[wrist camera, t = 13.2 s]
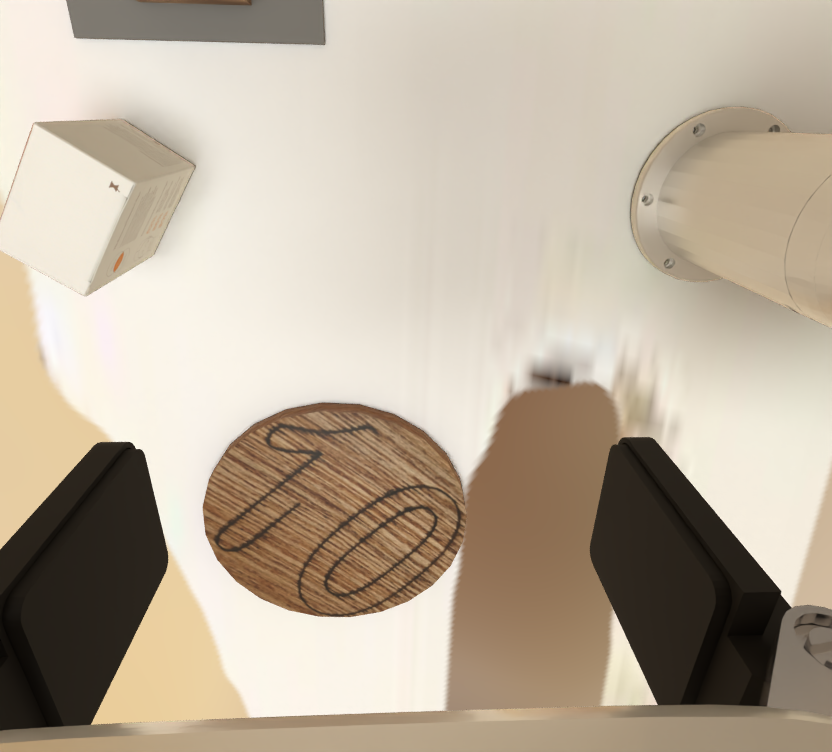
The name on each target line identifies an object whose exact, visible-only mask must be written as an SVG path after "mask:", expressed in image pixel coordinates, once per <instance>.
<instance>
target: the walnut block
mask: <svg viewBox="0 0 832 752" xmlns="http://www.w3.org/2000/svg"><path fill="white" fill-rule="evenodd" d="M136 1H138V2H150V3H183V4H217V5H251V6H252V3H251V0H136Z"/></svg>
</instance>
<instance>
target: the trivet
mask: <svg viewBox="0 0 832 752" xmlns="http://www.w3.org/2000/svg"><path fill="white" fill-rule="evenodd" d="M203 515H204V524H205V533H206V536H207V538H208V541H209V543H210V545H211V547H212V549H213V551H214V554H215V556H216V558H217V560H218V561H219V562H220V563H221V564H222V566H223V567H224V568H225V569H226V570H227V571H228V572H229V574H230V575H231V576H232V577H233V578H234V579H235V581H236V582H238V583H239V584H241V585H242V586H244V587H245V588H246V589H248V590H249V591H251V592H252V593H254V594H255V595H256V596H258V597H259V598H261V599H263V600H266V601H268V602H270V603H273V604H275V605H278V606H280V607H282V608H285V609H287V610H290V611H295V612H300V613H305V614H310V615H315V616H322V617H353V616H359V615H365V614H371V613H377V612H381V611H384V610H387V609H389V608H392V607H394V606H397V605H400V604H402V603H405V602H408V601H409V600H411V599H412V598H414V597H415V596H417V595H418V594H420V593H422V592H423V591H425V590H426V589H428V588H429V587H431V586H432V585H433V584H434V583H435V582H436V581H437V580H438V579H439V578H440V577H441V575H442V574H443V573H444V572H445V571H446V570H447V569H448V568H449V567H450V566H451V564H452V562H453V560H454V558H455V556H456V554H457V552H458V550H459V548H460V546H461V544H462V542H463V537H464V530H465V524H466V517H467V514H466V509H465V503H464V498H463V492H462V487H461V482H460V478H459V476H458V474H457V473H456V471H455V469H454V467H453V465H452V463H451V461H450V460H449V458H448V456H447V454H446V453H445V452H444V451H443V450H442V449H441V448H440V447H439V446H438V445H437V444H436V443H435V442H434V441H433V440H432V439H431V438H430V437H429V436H428V435H427V434H426V433H425V432H424V431H423V430H421V429H419V428H417V427H416V426H414V425H412V424H410V423H409V422H407V421H405V420H403V419H402V418H400V417H398V416H396V415H395V414H391V413H388V412H384V411H381V410H377V409H374V408H370V407H367V406H363V405H360V404H340V403H318V404H312V405H307V406H302V407H296V408H291V409H286V410H284V411H282V412H279V413H277V414H275V415H273V416H271V417H268V418H266V419H264V420H262V421H260V422H257V423H255V424H254V425H253V426H251V427H250V428H249V429H248V430H247V431H246V432H244V433H243V434H242V435H241V436H240V437H238V438H237V439H236V440H235V441H234V442H232V443H231V444H230V445H229V447H228V449H227V450H226V452H225V453H224V455H223V456H222V458H221V460H220V461H219V463H218V464H217V466H216V467H215V469H214V471H213V473H212V475H211V477H210V479H209V482H208V486H207V491H206V495H205V499H204V503H203Z"/></svg>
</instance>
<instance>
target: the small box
mask: <svg viewBox="0 0 832 752" xmlns="http://www.w3.org/2000/svg"><path fill="white" fill-rule="evenodd" d="M194 169H195V166H194V165H193V164H191V163H190V162H188V161H187V160H185V159H184V158H182V157H180V156H179V155H177V154H176V153H174V152H173V151H171V150H170V149H168V148H166V147H165V146H163V145H162V144H160V143H159V142H157V141H156V140H154V139H152V138H151V137H149V136H148V135H146V134H145V133H143V132H141V131H140V130H138V129H137V128H135V127H134V126H132V125H130V124H129V123H127V122H126V121H124V120H122V119H112V120H83V121H54V122H35V123H33V125H32V128H31V131H30V134H29V137H28V140H27V142H26V145H25V148H24V151H23V154H22V157H21V160H20V163H19V166H18V169H17V172H16V175H15V178H14V181H13V183H12V186H11V189H10V192H9V195H8V198H7V201H6V204H5V207H4V210H3V213H2V215H1V218H0V251H2V252H4V253H6V254H7V255H9V256H11V257H13V258H15V259H17V260H19V261H20V262H22V263H24V264H26V265H28V266H30V267H31V268H33V269H35V270H37V271H39V272H41V273H42V274H44V275H46V276H48V277H50V278H52V279H53V280H55V281H57V282H59V283H61V284H63V285H64V286H66V287H68V288H70V289H72V290H74V291H75V292H77V293H79V294H81V295H83V296H88V295H90V294H91V293H93V292H94V291H96V290H98V289H99V288H101V287H103V286H104V285H106V284H108V283H109V282H111V281H112V280H114V279H116V278H117V277H119V276H121V275H122V274H124V273H126V272H127V271H129V270H130V269H132V268H134V267H135V266H137V265H139V264H140V263H142V262H144V261H145V260H147V259H148V258H150V257H152V256H153V255H154V253H155V251H156V248H157V246H158V244H159V242H160V240H161V238H162V236H163V234H164V231H165V229H166V227H167V225H168V223H169V221H170V219H171V217H172V214H173V212H174V210H175V208H176V206H177V204H178V202H179V200H180V198H181V195H182V193H183V191H184V189H185V187H186V185H187V183H188V181H189V179H190V176H191V174H192V172H193V170H194Z"/></svg>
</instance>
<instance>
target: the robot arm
mask: <svg viewBox="0 0 832 752" xmlns="http://www.w3.org/2000/svg"><path fill="white" fill-rule="evenodd" d="M694 127H695V128H696V130H695V132H694V133H693V129H694ZM768 130H769V132H768ZM644 195H645V197H646V198H645V200H644V201H642V198H643V196H644ZM631 222H632V229H633V234H634V237H635V240H636V243H637V245H638V247H639V249H640V251H641V252H642V254H643V255H644V257H645V258H646V259H647V260H648V261H649V262H650V263H651V264H652V265H653V266H654V267H655V268H657V269H659V270H660V271H662V272H663V273H665V274H667V275H669V276H672V277H674V278H676V279H680V280H684V281H689V282H708V281H713V280H719V279H722V278H725V279H727V280H729V281H731V282H733V283H735V284H737V285H740V286H742V287H744V288H746V289H748V290H750V291H752V292H755V293H757V294H759V295H761V296H763V297H765V298H767V299H769V300H772V301H774V302H776V303H778V304H780V305H782V306H784V307H786V308H789V309H791V310H793V311H795V312H797V313H799V314H802V315H804V316H806V317H808V318H810V319H813V320H815V321H817V322H819V323H822V324H824V325H826V326H828V327H830V328H832V134H815V133H791V131H790V130H789V129H788V128H787V126H786V125H785V124H784V123H783V122H781V121H780V120H779V119H777V118H776V117H775V116H773V115H772V114H769V113H767V112H764V111H762V110H759V109H754V108H747V107H726V108H721V109H716V110H710V111H708V112H705V113H703V114H700V115H698V116H695V117H693V118H691V119H690V120H688V121H687V122H685V123H683V124H682V125H680V126H678V127H677V128H676V129H675V130H674V131H673V132H671V133H670V134H669V135H668V136H667V137H666V138H664V139H663V141H662V142H661V143H660V144H659V145H658V147H657V148H656V149H655V150H654V151H653V152H652V154H651V155H650V157H649V159H648V160H647V162H646V164H645V165H644V167H643V169H642V171H641V173H640V176H639V178H638V180H637V183H636V185H635V190H634V194H633V198H632V205H631ZM665 260H667V261H666V263H664V262H665ZM590 556H591V560H592V563H593V566H594V568H595V570H596V572H597V574H598V576H599V578H600V581H601V583H602V585H603V587H604V589H605V592H606V594H607V596H608V598H609V600H610V602H611V605H612V607H613V609H614V611H615V613H616V615H617V618H618V620H619V622H620V624H621V626H622V628H623V631H624V633H625V635H626V637H627V639H628V641H629V644H630V646H631V648H632V650H633V652H634V654H635V657H636V659H637V661H638V663H639V665H640V667H641V670H642V672H643V674H644V676H645V678H646V680H647V683H648V685H649V687H650V689H651V691H652V693H653V696H654V698H655V700H656V702H657V704H658V705H633V706H593V707H557V708H523V709H490V710H489V709H488V710H456V711H426V712H397V713H368V714H340V715H313V716H285V717H260V718H236V719H212V720H188V721H187V720H186V721H164V722H163V721H162V722H138V723H116V724H101V725H100V724H98V725H91V723H92V721H93V719H94V717H95V715H96V713H97V711H98V709H99V707H100V705H101V702H102V701H103V699H104V696H105V694H106V692H107V690H108V688H109V686H110V684H111V682H112V680H113V678H114V676H115V674H116V672H117V670H118V668H119V666H120V664H121V662H122V660H123V658H124V656H125V654H126V652H127V650H128V648H129V646H130V644H131V642H132V639H133V637H134V635H135V633H136V631H137V629H138V627H139V625H140V623H141V621H142V619H143V617H144V615H145V613H146V611H147V609H148V606H149V605H150V603H151V601H152V599H153V597H154V595H155V593H156V591H157V589H158V587H159V584H160V583H161V581H162V578H163V576H164V574H165V572H166V569H167V565H168V551H167V547H166V543H165V539H164V534H163V530H162V526H161V522H160V517H159V513H158V509H157V505H156V500H155V496H154V492H153V488H152V484H151V479H150V475H149V471H148V467H147V462H146V458H145V455H144V452H143V451H142V450H140V449H136V448H135V446H134V445H133V444H132V443H130V442H100V443H97V444H96V445H94V446H93V447H92V449H91V450H90V451H89V452H88V453H87V454H86V455H85V456H84V457H83V459H82V460H81V461H80V462H79V463H78V464H77V465H76V466H75V467H74V469H73V470H72V471H71V472H70V473H69V474H68V475H67V476H66V477H65V479H64V480H63V481H62V482H61V483H60V484H59V485H58V487H57V488H56V489H55V490H54V491H53V492H52V493H51V494H50V495H49V496H48V498H46V500H45V501H44V502H43V503H42V504H41V505H40V506H39V507H38V508H37V510H36V511H35V512H34V513H33V514H32V515H31V516H30V517H29V518H28V519H27V521H26V522H25V523H24V524H23V525H22V526H21V527H20V528H19V529H18V531H17V532H16V533H15V534H14V535H13V536H12V537H11V538H10V540H9V541H8V542H7V543H6V544H5V545H4V546H3V547H2V548H1V549H0V752H832V610H831V609H828V608H825V607H819V606H812V605H804V606H795V607H793V608H791V607H790V605H789V604H788V603H787V602H786V600H785V599H784V598H783V597H782V596H781V590H780V589H779V588H778V587H777V586H776V584H775V583H774V582H773V581H772V580H771V578H770V577H769V576H768V575H767V574H766V572H765V571H764V570H763V569H762V568H761V566H760V565H759V564H758V563H757V562H756V560H755V559H754V558H753V557H752V556H751V555H750V553H749V552H748V551H747V550H746V549H745V547H744V546H743V545H742V544H741V543H740V541H739V540H738V539H737V538H736V537H735V535H734V534H733V533H732V532H731V531H730V529H729V528H728V527H727V526H726V525H725V523H724V522H723V521H722V520H721V519H720V517H719V516H718V515H717V514H716V513H715V511H714V510H713V509H712V508H711V507H710V505H709V504H708V503H707V502H706V501H705V499H704V498H703V497H702V496H701V495H700V493H699V492H698V491H697V490H696V489H695V487H694V486H693V485H692V484H691V483H690V481H689V480H688V479H687V478H686V477H685V476H684V474H683V473H682V472H681V471H680V470H679V468H678V467H677V466H676V465H675V464H674V462H673V461H672V460H671V459H670V458H669V456H668V455H667V454H666V453H665V452H664V450H663V449H662V448H661V447H660V446H659V444H658V443H657V442H656V441H655V440H654V439H653V438H650V437H624V438H622V439H621V440H620V441H619V443H618V445H613V446H612V447H611V449H610V452H609V457H608V462H607V466H606V471H605V476H604V481H603V486H602V490H601V496H600V500H599V505H598V510H597V515H596V520H595V524H594V529H593V534H592V539H591V544H590Z"/></svg>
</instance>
